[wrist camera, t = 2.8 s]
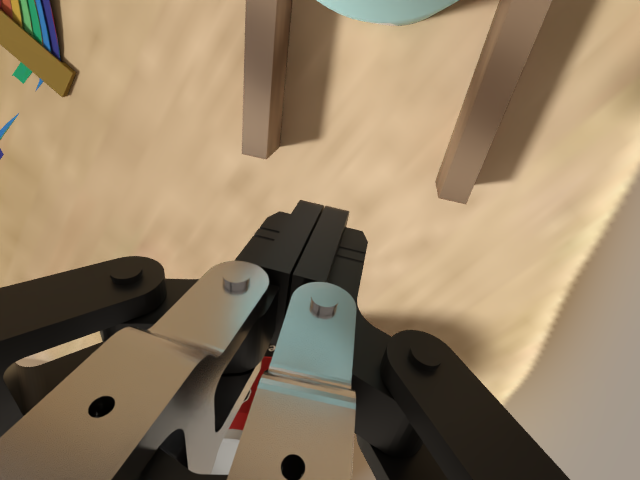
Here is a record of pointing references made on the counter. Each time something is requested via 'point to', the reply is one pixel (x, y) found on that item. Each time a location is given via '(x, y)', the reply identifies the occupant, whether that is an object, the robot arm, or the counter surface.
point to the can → (388, 10)
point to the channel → (476, 113)
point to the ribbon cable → (33, 45)
